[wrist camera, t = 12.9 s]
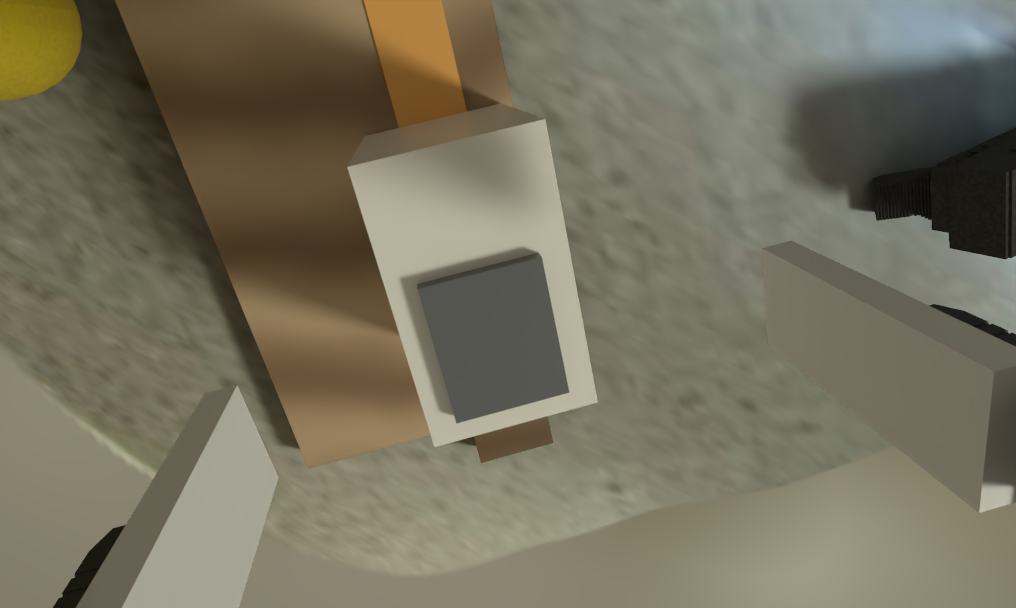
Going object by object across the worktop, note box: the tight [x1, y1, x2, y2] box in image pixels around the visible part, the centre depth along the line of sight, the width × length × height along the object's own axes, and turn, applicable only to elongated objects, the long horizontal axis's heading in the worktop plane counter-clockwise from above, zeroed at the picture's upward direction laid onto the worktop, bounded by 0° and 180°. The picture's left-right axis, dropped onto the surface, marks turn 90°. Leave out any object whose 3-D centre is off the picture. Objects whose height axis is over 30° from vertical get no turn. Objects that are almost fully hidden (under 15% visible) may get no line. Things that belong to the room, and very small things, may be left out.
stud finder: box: [347, 103, 598, 447], centre depth 24 cm, size 10×6×10 cm, turn 12°
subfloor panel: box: [115, 0, 553, 469], centre depth 29 cm, size 27×14×2 cm, turn 12°
